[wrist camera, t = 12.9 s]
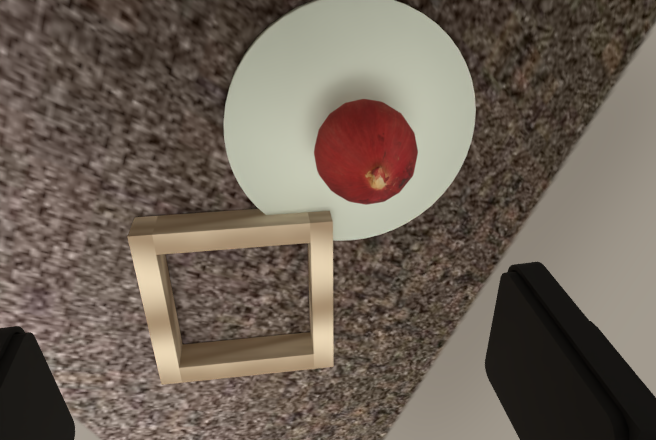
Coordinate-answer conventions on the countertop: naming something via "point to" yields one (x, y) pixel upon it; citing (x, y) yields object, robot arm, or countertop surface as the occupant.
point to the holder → (230, 233)
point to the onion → (365, 151)
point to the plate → (341, 87)
